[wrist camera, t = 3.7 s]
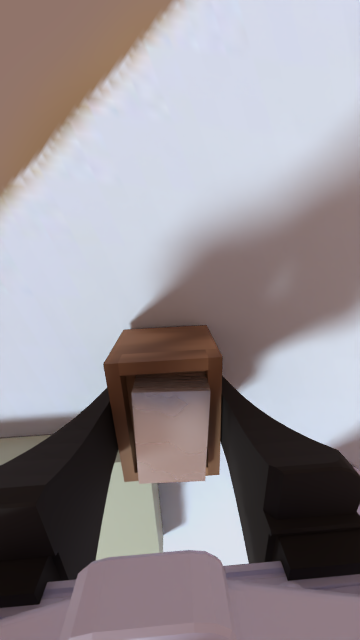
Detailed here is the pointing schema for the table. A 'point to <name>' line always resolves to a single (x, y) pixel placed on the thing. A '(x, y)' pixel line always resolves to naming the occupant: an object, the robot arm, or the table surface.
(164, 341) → the brown box
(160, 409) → the lid plate
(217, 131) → the table surface
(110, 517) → the stand
